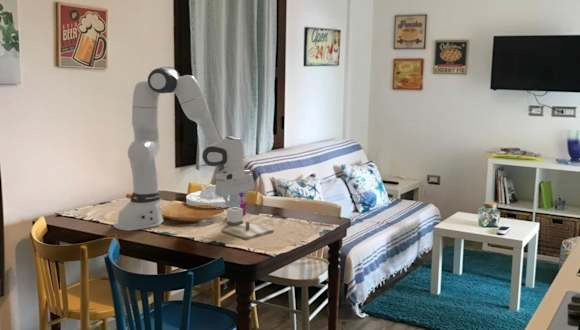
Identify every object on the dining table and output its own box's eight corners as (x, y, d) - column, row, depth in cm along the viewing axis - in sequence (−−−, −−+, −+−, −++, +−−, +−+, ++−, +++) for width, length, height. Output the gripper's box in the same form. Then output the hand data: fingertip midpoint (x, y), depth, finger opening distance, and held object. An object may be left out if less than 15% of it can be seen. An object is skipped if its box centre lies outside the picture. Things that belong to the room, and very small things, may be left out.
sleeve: (234, 226, 281) (234, 210, 280) (227, 223, 284) (227, 208, 283) (242, 223, 285) (242, 208, 283) (235, 221, 288) (235, 206, 287)
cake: (220, 212, 306) (219, 192, 304) (175, 205, 319) (174, 186, 318) (251, 199, 330) (251, 181, 328) (208, 193, 343) (207, 176, 342)
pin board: (246, 239, 262) (246, 229, 261) (221, 231, 273) (221, 221, 272) (273, 231, 273) (273, 221, 272) (249, 224, 284) (249, 214, 283)
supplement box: (238, 217, 296) (237, 193, 294) (228, 215, 299) (228, 191, 297) (246, 214, 300) (246, 191, 298) (237, 212, 304) (236, 189, 302)
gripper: (247, 168, 289) (248, 197, 292) (212, 175, 275) (214, 206, 278) (256, 169, 285) (257, 199, 288) (221, 177, 271) (223, 208, 273)
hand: (236, 202), depth 283 cm, fingers open, 8 cm apart
